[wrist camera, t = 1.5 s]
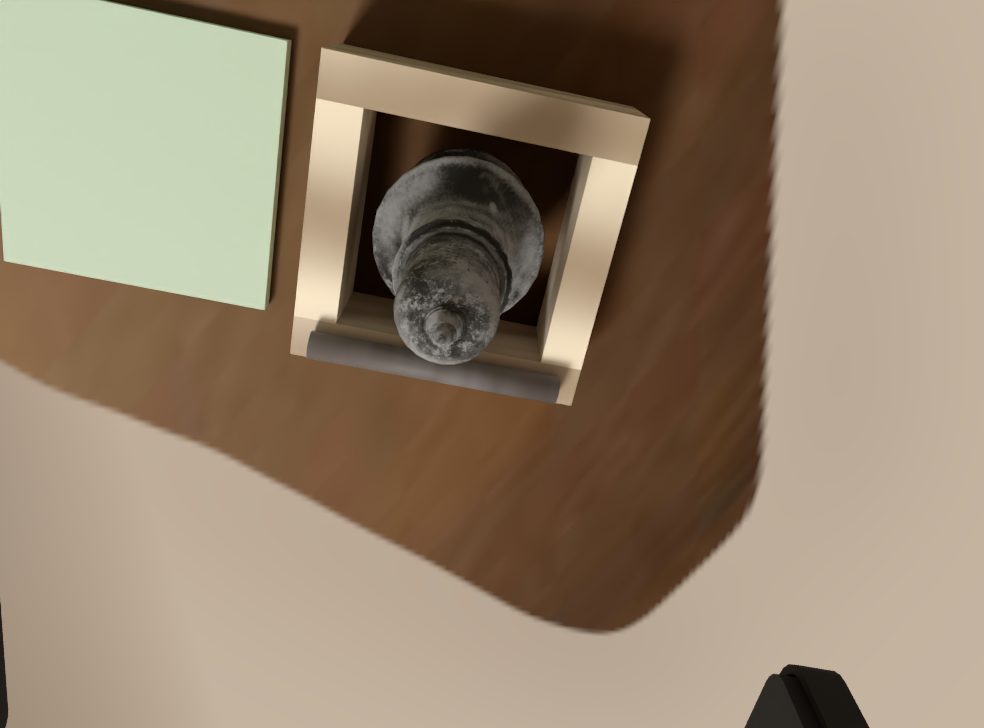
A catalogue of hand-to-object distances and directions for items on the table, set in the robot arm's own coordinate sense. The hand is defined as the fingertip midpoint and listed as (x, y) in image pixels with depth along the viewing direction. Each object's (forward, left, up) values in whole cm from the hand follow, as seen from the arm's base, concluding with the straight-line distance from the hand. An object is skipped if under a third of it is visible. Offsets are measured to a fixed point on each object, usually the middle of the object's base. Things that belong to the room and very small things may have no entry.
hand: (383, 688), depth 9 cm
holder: (0, 0, -22) cm, 22 cm away
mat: (0, -12, -22) cm, 25 cm away
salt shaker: (0, 0, -22) cm, 22 cm away
